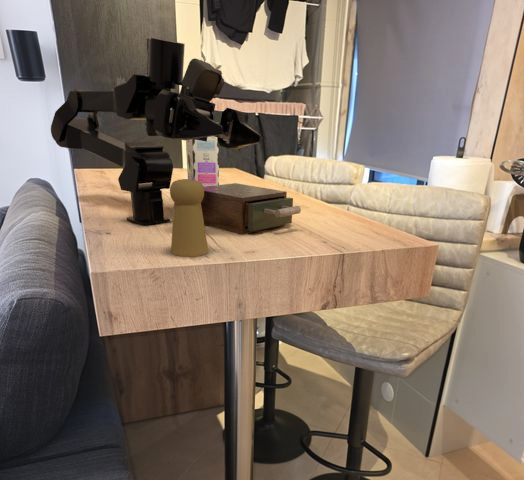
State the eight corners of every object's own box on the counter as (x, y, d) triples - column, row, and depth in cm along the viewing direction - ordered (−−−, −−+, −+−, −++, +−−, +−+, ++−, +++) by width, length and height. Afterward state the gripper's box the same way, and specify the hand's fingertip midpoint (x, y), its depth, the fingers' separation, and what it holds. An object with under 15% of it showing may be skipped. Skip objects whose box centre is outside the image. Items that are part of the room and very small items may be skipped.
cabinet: (285, 225, 93) (286, 191, 90) (241, 234, 85) (242, 197, 82) (235, 214, 102) (235, 183, 99) (191, 221, 94) (190, 188, 91)
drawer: (308, 226, 89) (310, 201, 87) (269, 235, 81) (270, 207, 79) (244, 212, 99) (244, 189, 97) (204, 219, 92) (203, 194, 90)
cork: (190, 244, 78) (187, 176, 72) (216, 251, 74) (214, 180, 69) (163, 251, 73) (157, 179, 68) (188, 258, 70) (185, 183, 65)
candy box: (220, 212, 103) (219, 132, 95) (194, 213, 102) (191, 131, 94) (211, 201, 115) (209, 129, 107) (187, 202, 113) (184, 129, 106)
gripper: (136, 42, 67) (210, 59, 60) (221, 73, 81) (289, 90, 74) (128, 124, 72) (195, 148, 65) (209, 139, 86) (272, 161, 79)
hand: (241, 135), depth 71 cm, fingers open, 9 cm apart
